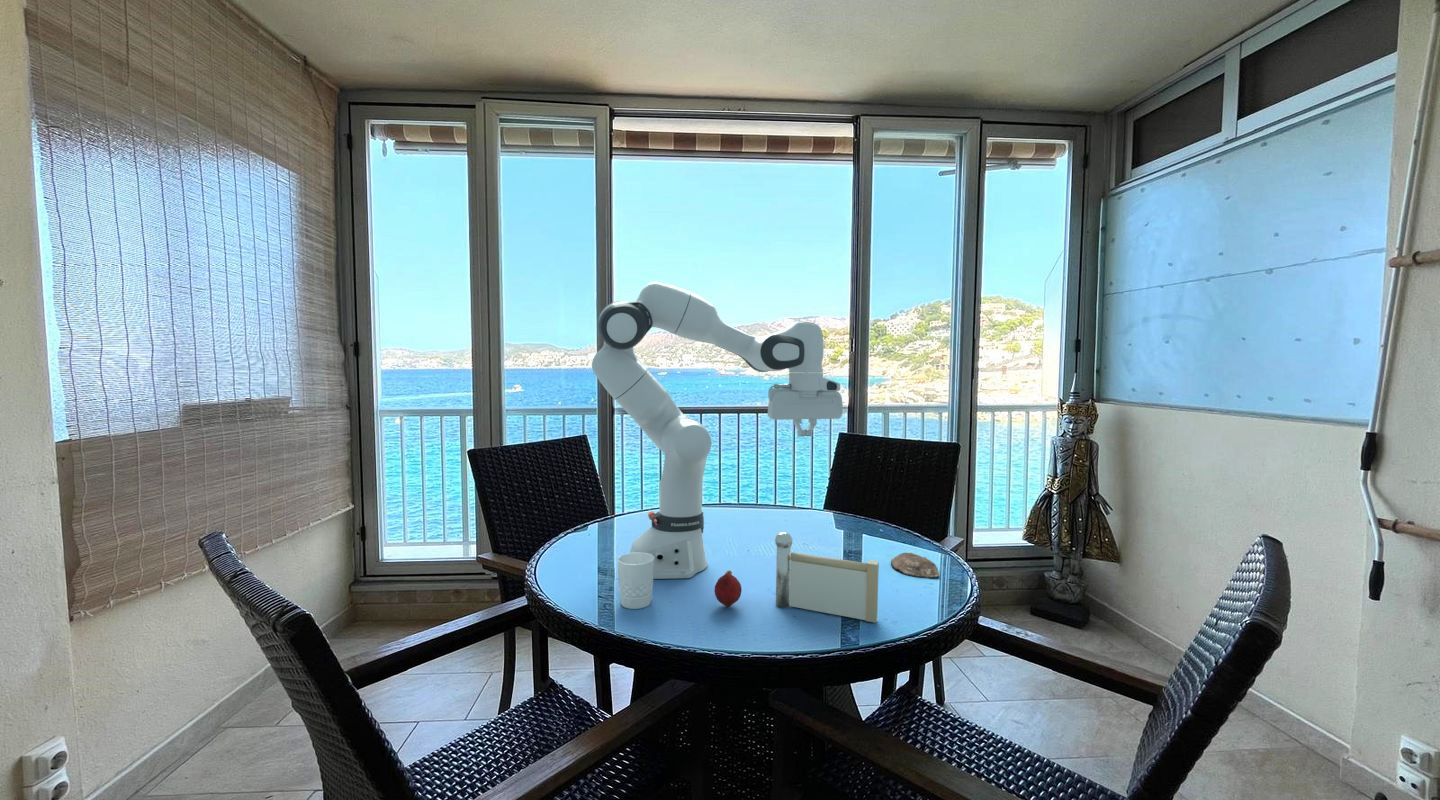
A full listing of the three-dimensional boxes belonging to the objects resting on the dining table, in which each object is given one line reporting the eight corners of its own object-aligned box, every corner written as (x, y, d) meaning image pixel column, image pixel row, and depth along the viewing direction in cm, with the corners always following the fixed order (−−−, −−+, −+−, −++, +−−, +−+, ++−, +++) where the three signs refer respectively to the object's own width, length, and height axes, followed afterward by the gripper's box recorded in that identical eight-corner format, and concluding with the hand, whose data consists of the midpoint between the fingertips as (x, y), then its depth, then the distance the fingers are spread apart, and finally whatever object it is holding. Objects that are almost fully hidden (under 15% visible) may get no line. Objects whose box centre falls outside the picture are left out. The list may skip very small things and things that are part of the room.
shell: (891, 576, 138) (891, 562, 138) (890, 559, 151) (890, 546, 150) (940, 581, 135) (940, 567, 135) (935, 564, 147) (935, 550, 147)
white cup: (647, 612, 116) (647, 566, 115) (612, 608, 117) (612, 563, 116) (658, 597, 123) (658, 553, 123) (625, 593, 125) (625, 551, 124)
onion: (732, 615, 115) (732, 577, 114) (709, 608, 118) (709, 572, 117) (745, 605, 119) (746, 569, 119) (723, 599, 123) (723, 564, 122)
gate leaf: (789, 606, 118) (790, 552, 117) (791, 602, 120) (792, 549, 119) (875, 622, 111) (877, 564, 110) (877, 618, 113) (878, 561, 112)
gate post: (777, 609, 118) (779, 535, 117) (771, 602, 121) (772, 530, 120) (794, 607, 119) (795, 534, 118) (787, 600, 122) (788, 529, 121)
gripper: (773, 384, 137) (772, 438, 138) (846, 384, 143) (844, 436, 144) (764, 383, 144) (763, 435, 144) (834, 383, 149) (833, 434, 150)
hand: (804, 436), depth 144 cm, fingers closed
